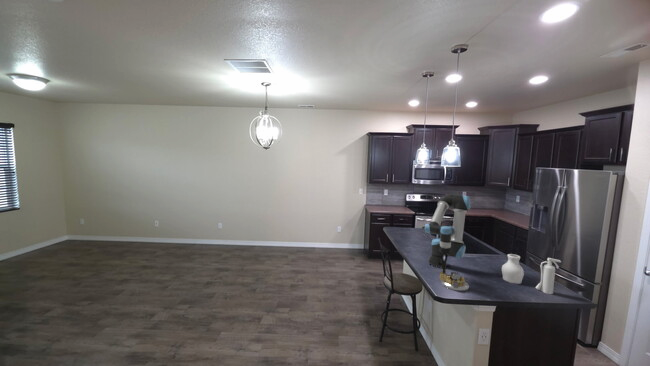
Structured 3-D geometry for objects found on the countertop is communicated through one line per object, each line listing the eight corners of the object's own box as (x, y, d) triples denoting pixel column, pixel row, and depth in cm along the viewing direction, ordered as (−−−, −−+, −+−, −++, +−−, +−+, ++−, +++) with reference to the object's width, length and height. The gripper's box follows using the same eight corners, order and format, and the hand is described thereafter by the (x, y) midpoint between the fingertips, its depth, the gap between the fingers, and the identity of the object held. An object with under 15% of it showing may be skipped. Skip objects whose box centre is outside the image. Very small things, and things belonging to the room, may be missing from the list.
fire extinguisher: (533, 287, 190) (537, 255, 187) (554, 291, 184) (559, 258, 182) (536, 291, 183) (540, 258, 181) (557, 296, 178) (563, 261, 176)
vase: (496, 277, 205) (498, 253, 204) (508, 275, 211) (509, 251, 209) (516, 285, 192) (518, 259, 190) (527, 282, 198) (529, 257, 196)
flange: (437, 284, 190) (438, 272, 190) (447, 277, 202) (448, 266, 202) (462, 294, 177) (463, 281, 176) (472, 286, 189) (473, 274, 188)
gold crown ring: (439, 282, 189) (439, 275, 188) (440, 276, 200) (440, 269, 199) (464, 287, 181) (465, 281, 181) (464, 281, 192) (464, 274, 192)
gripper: (440, 243, 202) (439, 272, 204) (439, 248, 191) (437, 279, 192) (450, 245, 198) (449, 274, 200) (450, 250, 187) (448, 281, 189)
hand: (443, 276), depth 196 cm, fingers closed
